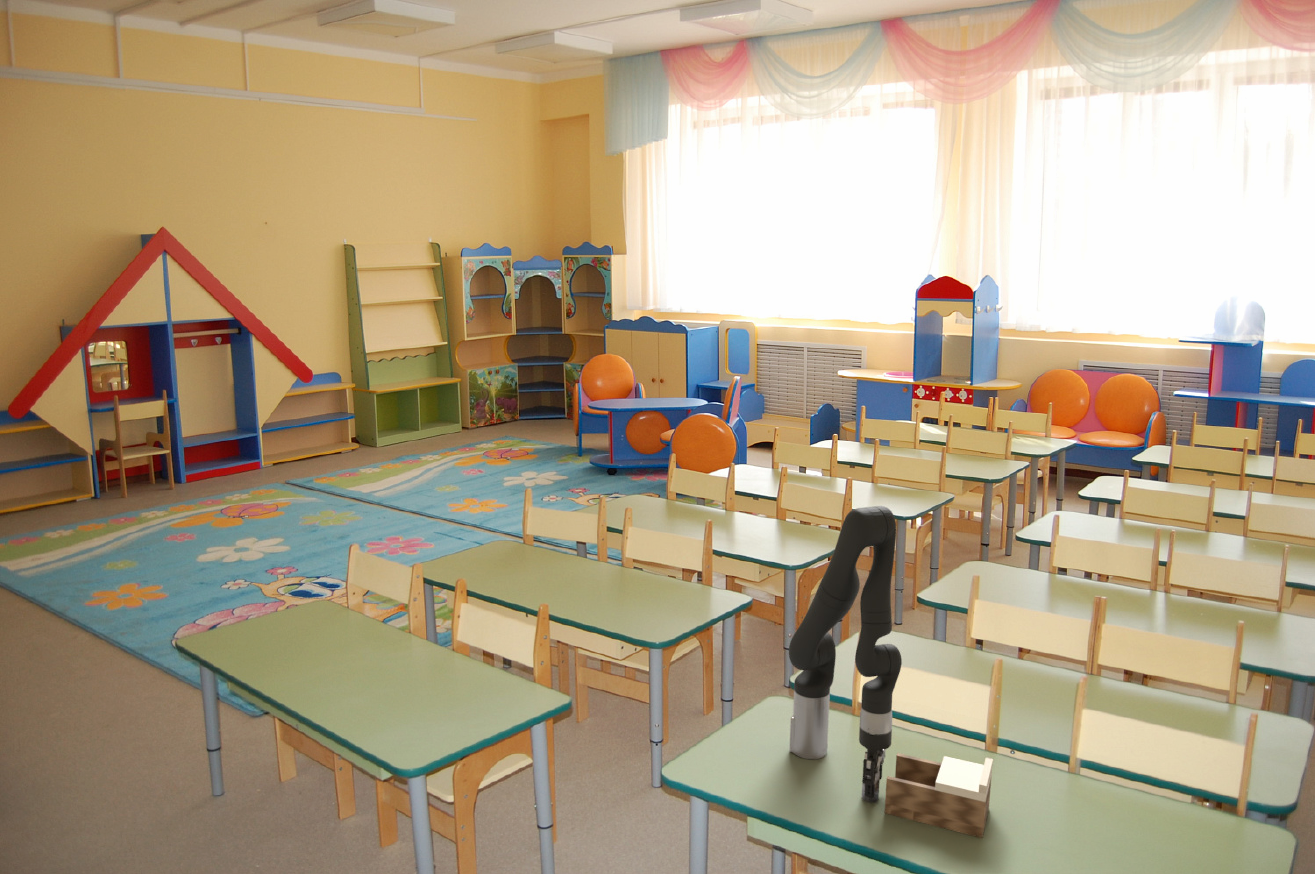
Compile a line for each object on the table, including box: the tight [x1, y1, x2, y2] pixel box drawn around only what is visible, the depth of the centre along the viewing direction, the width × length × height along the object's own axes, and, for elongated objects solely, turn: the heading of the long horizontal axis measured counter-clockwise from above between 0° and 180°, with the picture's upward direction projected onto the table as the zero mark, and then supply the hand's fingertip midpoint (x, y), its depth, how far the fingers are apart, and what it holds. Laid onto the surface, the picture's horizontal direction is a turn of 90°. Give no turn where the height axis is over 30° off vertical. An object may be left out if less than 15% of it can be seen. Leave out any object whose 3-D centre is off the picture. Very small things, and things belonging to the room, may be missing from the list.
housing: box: [884, 752, 992, 839], centre depth 225 cm, size 22×12×9 cm, turn 65°
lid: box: [935, 755, 994, 802], centre depth 222 cm, size 11×12×4 cm
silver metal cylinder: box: [861, 768, 881, 804], centre depth 231 cm, size 4×4×7 cm
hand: (873, 787), depth 230 cm, fingers open, 8 cm apart
